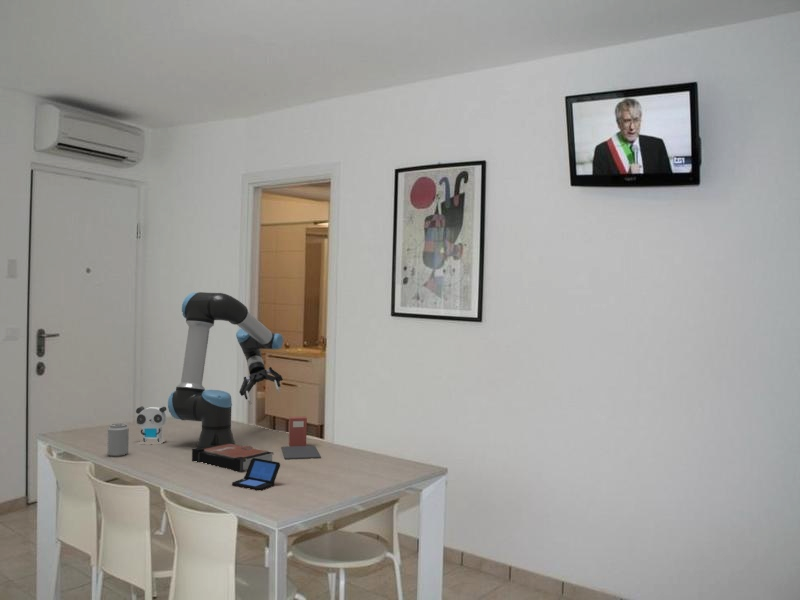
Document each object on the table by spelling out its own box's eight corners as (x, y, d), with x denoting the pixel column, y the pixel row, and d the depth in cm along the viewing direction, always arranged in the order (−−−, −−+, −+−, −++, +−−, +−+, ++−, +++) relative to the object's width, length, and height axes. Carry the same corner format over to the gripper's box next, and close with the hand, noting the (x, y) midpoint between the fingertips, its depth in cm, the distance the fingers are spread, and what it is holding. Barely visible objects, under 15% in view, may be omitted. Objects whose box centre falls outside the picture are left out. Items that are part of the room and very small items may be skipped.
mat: (320, 458, 264) (321, 456, 264) (284, 459, 261) (284, 457, 261) (315, 446, 283) (315, 445, 283) (281, 448, 280) (281, 446, 280)
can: (128, 452, 268) (129, 421, 268) (127, 456, 261) (128, 425, 260) (108, 453, 265) (108, 422, 265) (106, 457, 258) (107, 426, 258)
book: (274, 464, 255) (275, 451, 255) (239, 473, 241) (240, 459, 241) (227, 454, 270) (227, 441, 270) (191, 462, 256) (192, 449, 256)
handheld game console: (230, 486, 224) (230, 463, 224) (251, 478, 234) (252, 457, 233) (260, 492, 218) (260, 469, 218) (280, 484, 228) (281, 462, 228)
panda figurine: (132, 445, 280) (132, 409, 280) (141, 439, 291) (142, 404, 291) (161, 445, 280) (161, 409, 280) (169, 439, 292) (170, 405, 292)
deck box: (306, 446, 284) (306, 418, 284) (289, 447, 282) (290, 418, 282) (305, 444, 288) (305, 416, 288) (288, 445, 286) (289, 416, 286)
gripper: (283, 363, 326) (292, 392, 310) (234, 382, 322) (240, 412, 306) (278, 352, 321) (287, 381, 305) (228, 371, 318) (234, 401, 301)
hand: (264, 396), depth 306 cm, fingers open, 13 cm apart
